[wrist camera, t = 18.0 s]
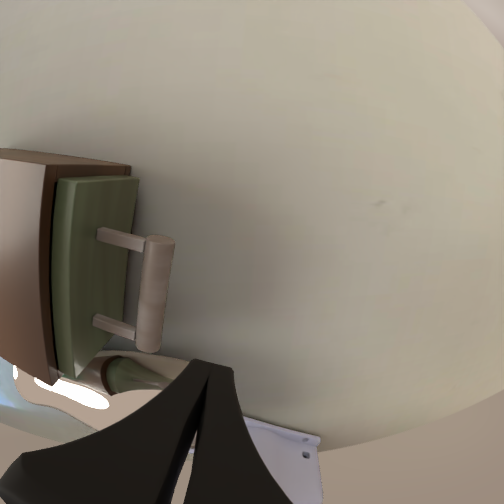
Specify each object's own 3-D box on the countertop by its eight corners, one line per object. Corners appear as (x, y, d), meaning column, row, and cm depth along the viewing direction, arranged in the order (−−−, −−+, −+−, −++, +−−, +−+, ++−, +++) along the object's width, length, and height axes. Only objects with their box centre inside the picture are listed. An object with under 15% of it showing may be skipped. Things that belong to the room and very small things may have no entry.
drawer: (203, 191, 17) (165, 200, 11) (175, 342, 20) (142, 406, 13) (12, 157, 17) (-51, 160, 10) (7, 278, 20) (-46, 305, 13)
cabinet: (131, 165, 18) (46, 164, 10) (113, 322, 21) (52, 387, 12) (5, 148, 18) (-70, 150, 9) (-1, 274, 21) (-64, 306, 12)
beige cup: (-3, 353, 15) (174, 402, 14) (48, 319, 22) (204, 340, 20) (28, 422, 17) (191, 475, 15) (66, 382, 23) (211, 412, 22)
